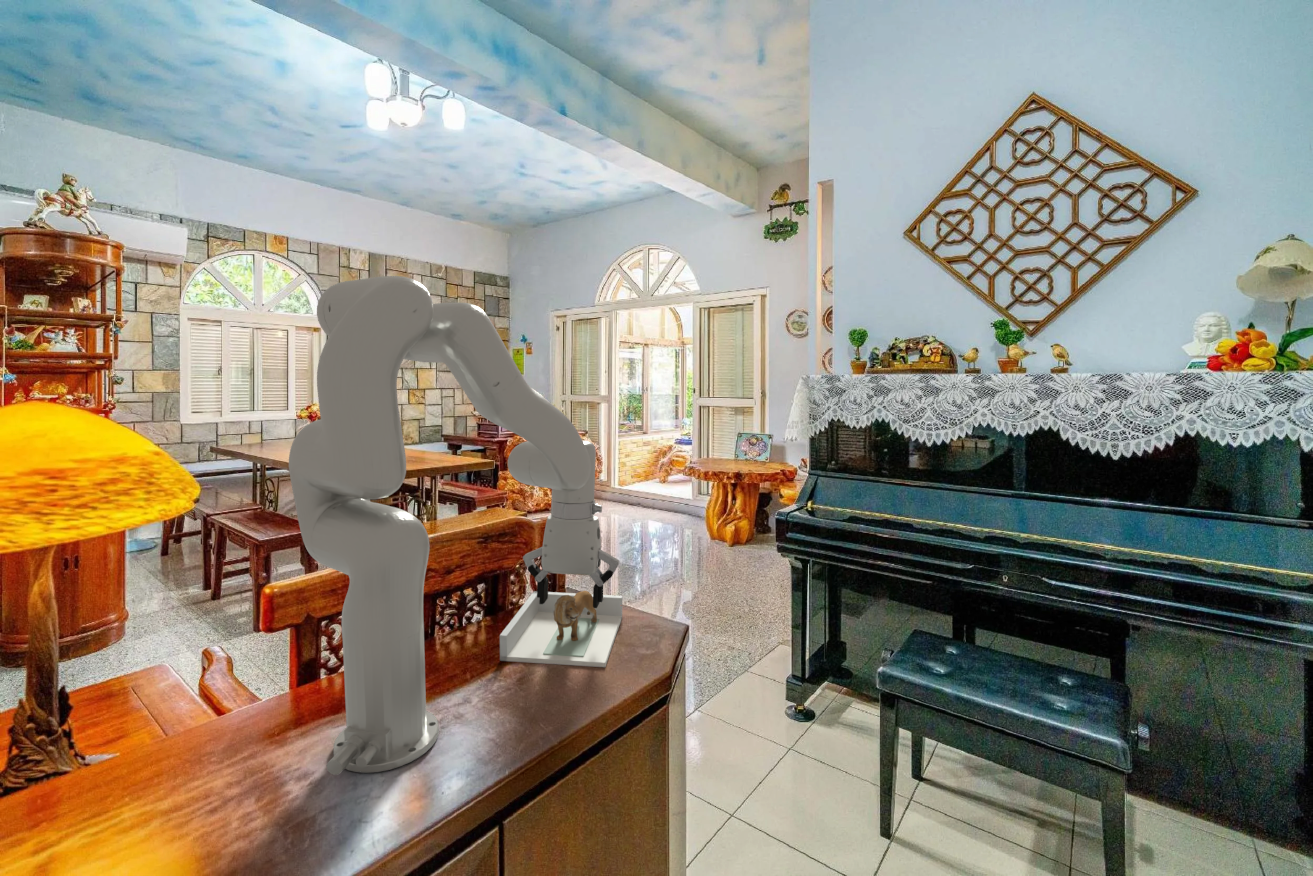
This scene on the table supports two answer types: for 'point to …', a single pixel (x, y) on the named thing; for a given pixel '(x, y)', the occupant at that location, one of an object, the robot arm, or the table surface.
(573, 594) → the tray
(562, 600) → the lion figurine
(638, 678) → the table surface
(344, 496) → the robot arm
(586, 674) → the table surface
